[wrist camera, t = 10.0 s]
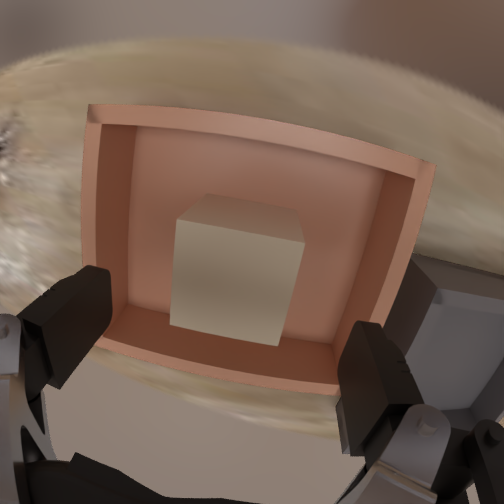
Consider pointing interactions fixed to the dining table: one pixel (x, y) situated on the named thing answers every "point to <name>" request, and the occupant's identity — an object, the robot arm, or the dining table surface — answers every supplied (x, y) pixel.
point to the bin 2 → (449, 340)
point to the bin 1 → (258, 190)
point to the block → (235, 268)
